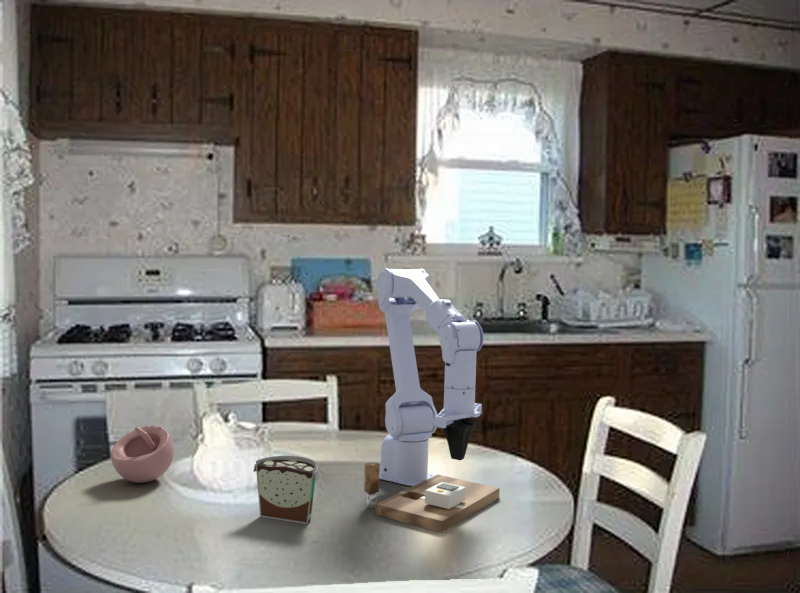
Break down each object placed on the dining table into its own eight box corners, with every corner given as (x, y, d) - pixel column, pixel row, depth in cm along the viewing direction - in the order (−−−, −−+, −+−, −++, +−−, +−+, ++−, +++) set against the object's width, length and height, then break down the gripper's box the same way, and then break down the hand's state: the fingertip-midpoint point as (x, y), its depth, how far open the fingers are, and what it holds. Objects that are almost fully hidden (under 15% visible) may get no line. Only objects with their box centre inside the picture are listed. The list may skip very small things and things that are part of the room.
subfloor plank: (375, 514, 139) (375, 503, 139) (437, 484, 157) (437, 474, 157) (442, 532, 131) (442, 520, 131) (499, 498, 150) (499, 487, 150)
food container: (330, 513, 139) (331, 459, 138) (315, 525, 133) (316, 468, 132) (269, 504, 143) (270, 451, 142) (252, 515, 137) (253, 460, 136)
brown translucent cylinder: (360, 507, 143) (361, 464, 142) (369, 503, 145) (370, 461, 145) (373, 510, 141) (374, 467, 141) (381, 506, 144) (382, 464, 143)
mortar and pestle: (97, 485, 151) (97, 428, 150) (139, 469, 162) (139, 415, 161) (146, 494, 147) (146, 435, 146) (186, 477, 158) (186, 422, 157)
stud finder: (424, 503, 139) (425, 489, 139) (441, 494, 144) (441, 480, 144) (448, 509, 136) (449, 494, 136) (465, 500, 141) (465, 486, 141)
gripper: (459, 395, 134) (457, 472, 135) (496, 383, 146) (494, 453, 147) (425, 390, 137) (423, 464, 139) (464, 378, 150) (461, 447, 151)
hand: (457, 458), depth 143 cm, fingers closed
